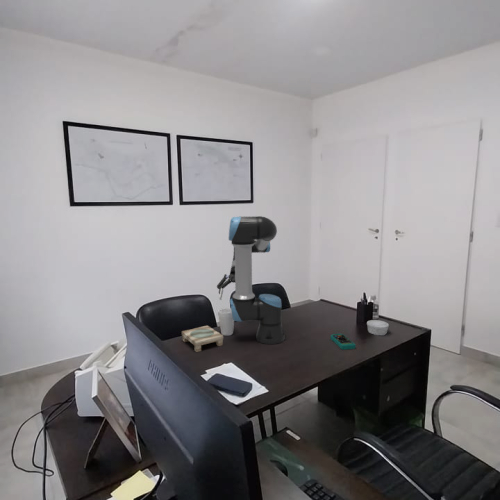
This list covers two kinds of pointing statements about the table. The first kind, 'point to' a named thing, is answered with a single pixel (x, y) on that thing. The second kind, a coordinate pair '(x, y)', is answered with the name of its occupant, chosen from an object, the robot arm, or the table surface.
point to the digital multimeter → (342, 341)
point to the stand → (202, 337)
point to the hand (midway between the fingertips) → (231, 299)
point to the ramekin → (377, 327)
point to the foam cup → (226, 321)
